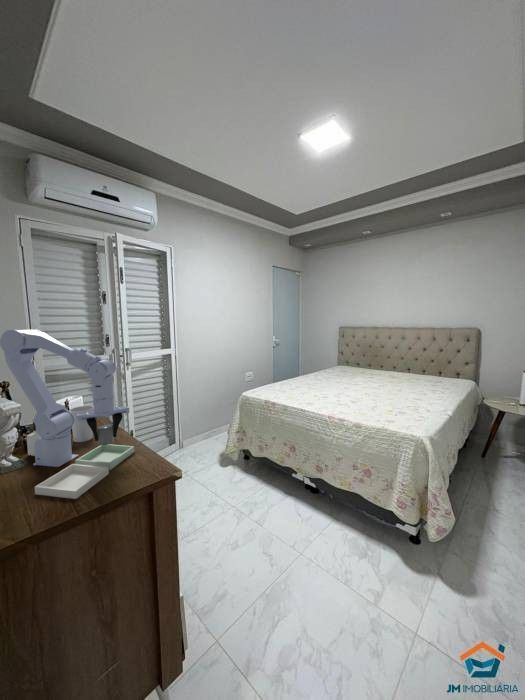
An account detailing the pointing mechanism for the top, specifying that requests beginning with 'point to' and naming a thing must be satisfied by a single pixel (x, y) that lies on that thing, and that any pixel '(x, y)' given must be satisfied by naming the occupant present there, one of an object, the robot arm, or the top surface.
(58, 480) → the bin
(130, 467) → the top surface
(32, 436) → the medicine bottle
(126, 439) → the top surface
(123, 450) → the bin
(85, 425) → the cup
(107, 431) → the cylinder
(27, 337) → the robot arm
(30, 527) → the top surface
